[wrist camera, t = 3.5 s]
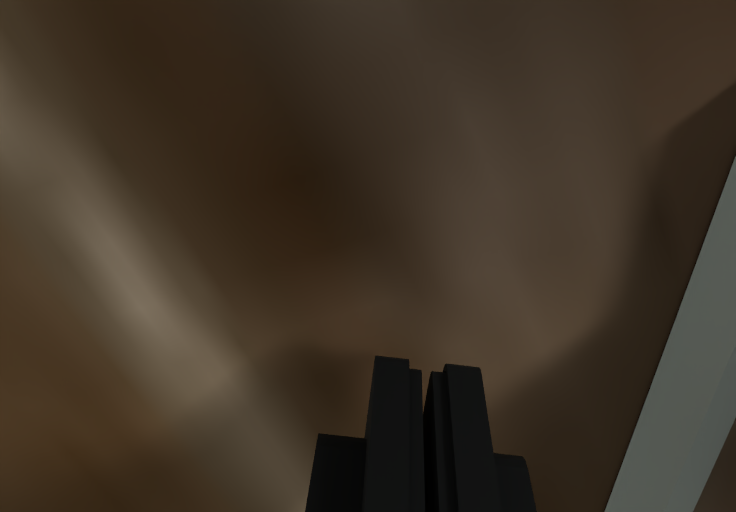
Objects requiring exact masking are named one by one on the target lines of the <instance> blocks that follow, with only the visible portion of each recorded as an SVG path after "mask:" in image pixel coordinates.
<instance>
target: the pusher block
mask: <svg viewBox="0 0 736 512" xmlns="http://www.w3.org/2000/svg"><path fill="white" fill-rule="evenodd" d="M693 512H736V418H735V420H734V423H733V425H732V427H731V429H730V431H729V434H728V436H727V438H726V440H725V442H724V445H723V447H722V449H721V451H720V453H719V456H718V458H717V460H716V462H715V464H714V467H713V469H712V471H711V473H710V475H709V478H708V480H707V482H706V484H705V486H704V489H703V491H702V493H701V495H700V497H699V500H698V502H697V504H696V506H695V508H694V511H693Z"/></svg>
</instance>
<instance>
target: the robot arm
mask: <svg viewBox="0 0 736 512" xmlns="http://www.w3.org/2000/svg"><path fill="white" fill-rule="evenodd" d="M305 512H537V511H536V506H535V502H534V497H533V492H532V487H531V482H530V477H529V472H528V468H527V465H526V461H525V459H524V458H523V457H522V456H513V455H505V454H496V453H493V447H492V440H491V434H490V427H489V421H488V414H487V407H486V401H485V394H484V387H483V381H482V374H481V370H480V368H479V367H471V366H462V365H453V364H445V366H444V368H443V372H434V371H432V372H431V374H430V378H429V384H428V389H427V395H426V400H425V406H424V412H423V405H422V372H421V370H417V369H409V359H400V358H392V357H383V356H375V361H374V369H373V376H372V384H371V392H370V400H369V407H368V415H367V423H366V430H365V438H355V437H346V436H337V435H328V434H320V433H319V434H318V439H317V444H316V450H315V456H314V462H313V468H312V474H311V480H310V486H309V492H308V498H307V504H306V510H305Z"/></svg>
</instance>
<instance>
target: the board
mask: <svg viewBox="0 0 736 512" xmlns="http://www.w3.org/2000/svg"><path fill="white" fill-rule="evenodd" d="M735 418H736V156H735V159H734V162H733V164H732V167H731V170H730V173H729V175H728V178H727V181H726V183H725V186H724V189H723V192H722V194H721V197H720V200H719V202H718V205H717V208H716V211H715V213H714V216H713V219H712V221H711V224H710V227H709V230H708V232H707V235H706V238H705V240H704V243H703V246H702V249H701V251H700V254H699V257H698V259H697V262H696V265H695V268H694V270H693V273H692V276H691V278H690V281H689V284H688V287H687V289H686V292H685V295H684V297H683V300H682V303H681V306H680V308H679V311H678V314H677V316H676V319H675V322H674V325H673V327H672V330H671V333H670V335H669V338H668V341H667V344H666V346H665V349H664V352H663V354H662V357H661V360H660V363H659V365H658V368H657V371H656V373H655V376H654V379H653V382H652V384H651V387H650V390H649V392H648V395H647V398H646V401H645V403H644V406H643V409H642V411H641V414H640V417H639V420H638V422H637V425H636V428H635V430H634V433H633V436H632V438H631V441H630V444H629V447H628V449H627V452H626V455H625V457H624V460H623V463H622V466H621V468H620V471H619V474H618V476H617V479H616V482H615V485H614V487H613V490H612V493H611V495H610V498H609V501H608V504H607V506H606V509H605V512H693V511H694V508H695V506H696V504H697V502H698V500H699V497H700V495H701V493H702V491H703V489H704V486H705V484H706V482H707V480H708V478H709V475H710V473H711V471H712V469H713V467H714V464H715V462H716V460H717V458H718V456H719V453H720V451H721V449H722V447H723V445H724V442H725V440H726V438H727V436H728V434H729V431H730V429H731V427H732V425H733V423H734V420H735Z"/></svg>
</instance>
